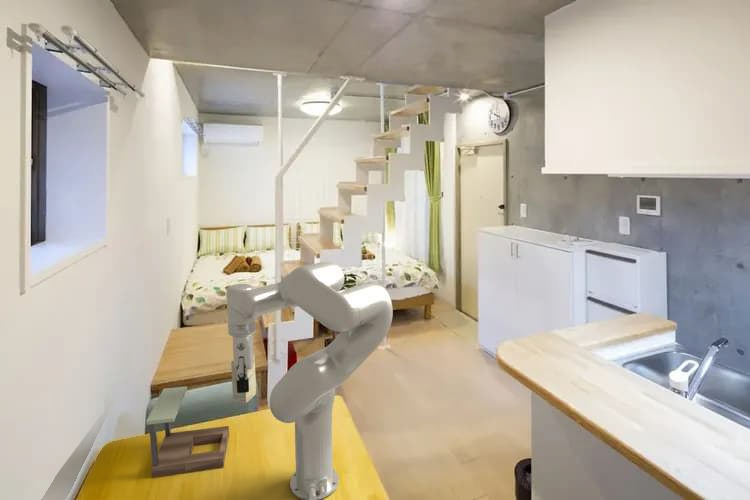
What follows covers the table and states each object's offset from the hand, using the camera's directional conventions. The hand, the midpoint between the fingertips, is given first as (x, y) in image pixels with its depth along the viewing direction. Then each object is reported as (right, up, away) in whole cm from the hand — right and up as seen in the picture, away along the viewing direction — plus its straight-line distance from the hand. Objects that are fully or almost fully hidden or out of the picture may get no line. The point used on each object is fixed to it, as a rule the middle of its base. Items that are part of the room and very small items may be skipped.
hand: (244, 385), depth 121 cm
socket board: (-14, -20, -1) cm, 25 cm away
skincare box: (0, -4, +1) cm, 4 cm away
